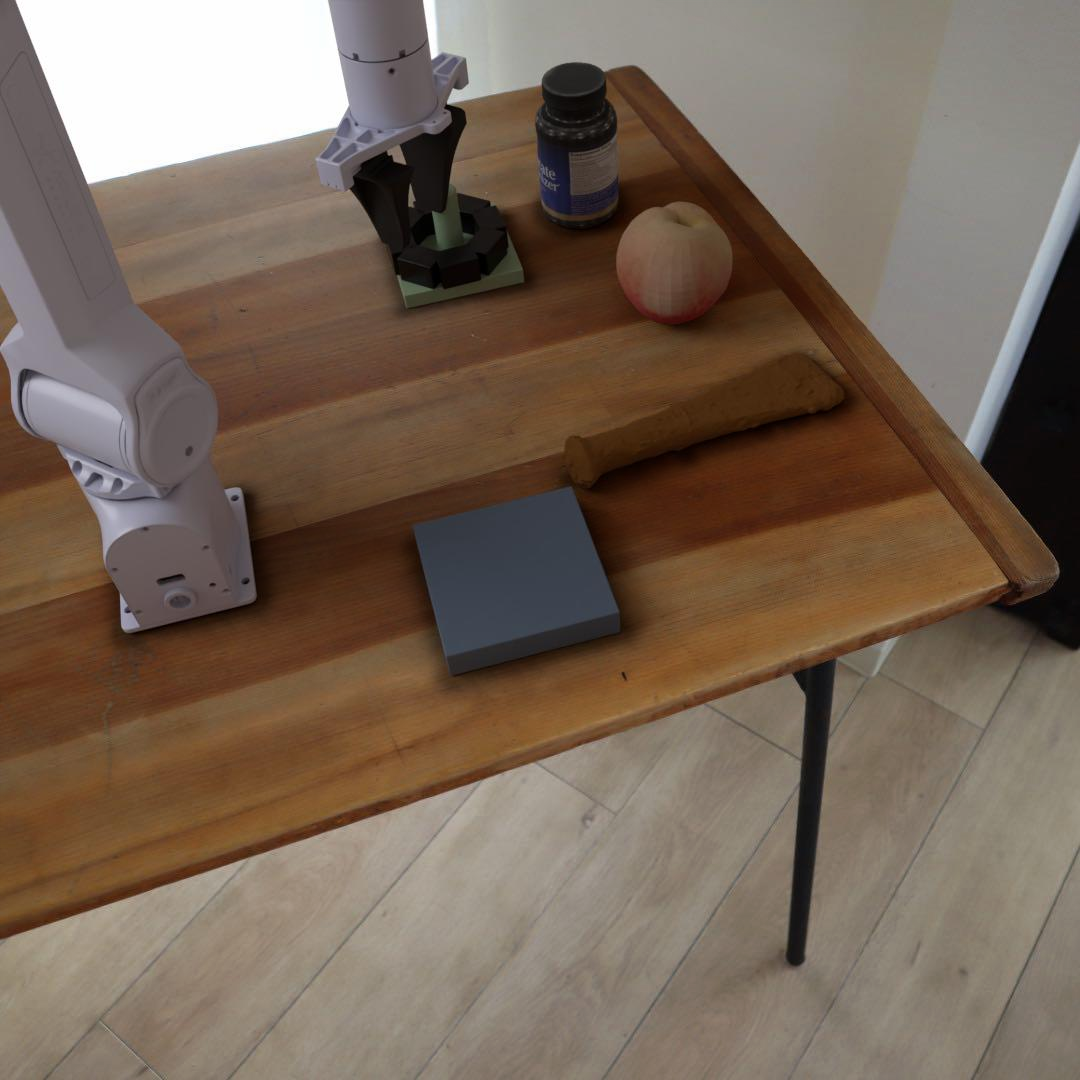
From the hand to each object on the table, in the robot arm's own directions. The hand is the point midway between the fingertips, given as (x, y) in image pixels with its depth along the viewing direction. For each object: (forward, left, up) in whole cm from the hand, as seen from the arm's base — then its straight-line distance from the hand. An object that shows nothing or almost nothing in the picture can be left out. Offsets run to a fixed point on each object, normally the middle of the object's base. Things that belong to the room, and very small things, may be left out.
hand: (414, 225), depth 84 cm
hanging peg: (+3, -3, -6) cm, 7 cm away
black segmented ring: (+2, -2, -5) cm, 6 cm away
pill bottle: (+6, -14, -6) cm, 16 cm away
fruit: (-8, -17, -6) cm, 20 cm away
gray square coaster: (-29, 0, -6) cm, 30 cm away
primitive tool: (-20, -15, -6) cm, 26 cm away
